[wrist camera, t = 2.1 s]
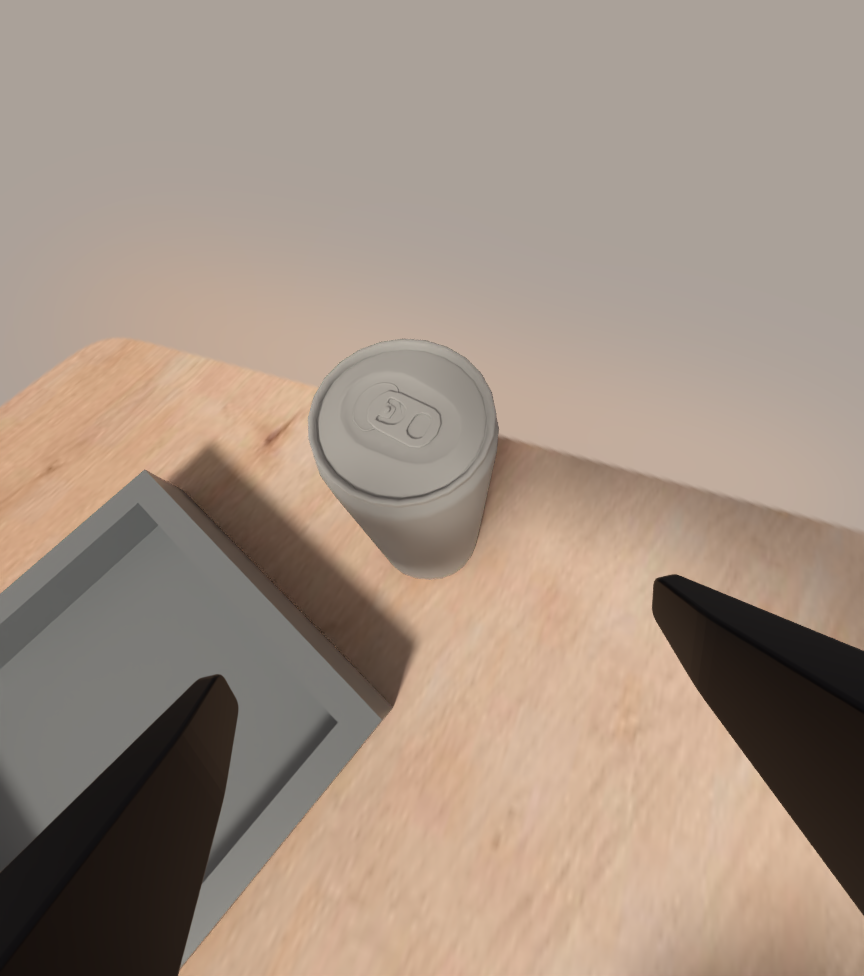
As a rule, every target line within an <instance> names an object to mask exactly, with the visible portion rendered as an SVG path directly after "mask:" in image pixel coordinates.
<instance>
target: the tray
mask: <svg viewBox="0 0 864 976" xmlns="http://www.w3.org/2000/svg"><path fill="white" fill-rule="evenodd" d="M215 674H221V675H222V676H224V678H225V679H226V681H227V683H228V685H229V687H230V688H231V690H232V692H233V694H234V695H235V697H236V699H237V702H238V707H239V710H238V718H237V725H236V731H235V737H234V743H233V749H232V755H231V762H230V768H229V774H228V780H227V785H226V791H225V796H224V800H223V804H222V808H221V812H220V816H219V820H218V824H217V828H216V832H215V835H214V839H213V843H212V847H211V851H210V855H209V858H208V862H207V866H206V870H205V874H204V878H203V881H202V885H201V889H200V893H199V897H198V901H197V905H196V908H195V912H194V916H193V920H192V924H191V928H190V931H189V935H188V939H187V943H186V947H185V951H184V954H183V958H182V962H181V966H180V969H181V968H182V967H183V965H184V964H185V963H186V962H187V960H188V959H189V958H190V957H191V956H192V954H193V953H194V952H195V951H196V949H197V948H198V947H199V946H200V945H201V943H202V942H203V941H204V940H205V938H206V937H207V936H208V935H209V933H210V932H211V931H212V930H213V929H214V927H215V926H216V925H217V924H218V922H219V921H220V920H221V919H222V917H223V916H224V915H225V914H226V913H227V911H228V910H229V909H230V908H231V906H232V905H233V904H234V903H235V901H236V900H237V899H238V898H239V897H240V895H241V894H242V893H243V892H244V890H245V889H246V888H247V887H248V885H249V884H250V883H251V882H252V881H253V879H254V878H255V877H256V876H257V874H258V873H259V872H260V871H261V869H262V868H263V867H264V866H265V865H266V863H267V862H268V861H269V860H270V858H271V857H272V856H273V855H274V853H275V852H276V851H277V850H278V849H279V847H280V846H281V845H282V844H283V842H284V841H285V840H286V839H287V838H288V836H289V835H290V834H291V833H292V831H293V830H294V829H295V828H296V826H297V825H298V824H299V823H300V822H301V820H302V819H303V818H304V817H305V815H306V814H307V813H308V812H309V810H310V809H311V808H312V807H313V806H314V804H315V803H316V802H317V801H318V799H319V798H320V797H321V796H322V794H323V793H324V792H325V791H326V790H327V788H328V787H329V786H330V785H331V783H332V782H333V781H334V780H335V778H336V777H337V776H338V775H339V774H340V772H341V771H342V770H343V769H344V767H345V766H346V765H347V764H348V762H349V761H350V760H351V759H352V758H353V756H354V755H355V754H356V753H357V751H358V750H359V749H360V748H361V746H362V745H363V744H364V743H365V742H366V740H367V739H368V738H369V737H370V735H371V734H372V733H373V732H374V730H375V729H376V728H377V727H378V726H379V724H380V723H381V722H382V721H383V719H384V718H385V717H386V716H387V715H388V713H389V712H390V711H391V710H392V708H393V707H392V706H391V705H390V704H389V703H388V702H387V701H386V700H385V699H384V697H383V696H382V695H381V694H380V693H379V692H378V691H377V690H376V689H375V688H374V687H373V686H372V685H371V684H370V683H369V682H368V681H367V680H366V679H365V678H364V677H363V676H362V675H361V674H360V673H359V672H358V671H357V670H356V669H355V668H354V666H353V665H352V664H351V663H350V662H349V661H348V660H347V659H346V658H345V657H344V656H343V655H342V654H341V653H340V652H339V651H338V650H337V649H336V648H335V647H334V646H333V645H332V644H331V643H330V642H329V641H328V640H327V639H326V638H325V637H324V635H323V634H322V633H321V632H320V631H319V630H318V629H317V628H316V627H315V626H314V625H313V624H312V623H311V622H310V621H309V620H308V619H307V618H306V617H305V616H304V615H303V614H302V613H301V612H300V611H299V610H298V609H297V608H296V607H295V606H294V604H293V603H292V602H291V601H290V600H289V599H288V598H287V597H286V596H285V595H284V594H283V593H282V592H281V591H280V590H279V589H278V588H277V587H276V586H275V585H274V584H273V583H272V582H271V581H270V580H269V579H268V578H267V577H266V576H265V575H264V574H263V572H262V571H261V570H260V569H259V568H258V567H257V566H256V565H255V564H254V563H253V562H252V561H251V560H250V559H249V558H248V557H247V556H246V555H245V554H244V553H243V552H242V551H241V550H240V549H239V548H238V547H237V546H236V545H235V544H234V543H233V541H232V540H231V539H230V538H229V537H228V536H227V535H226V534H225V533H224V532H223V531H222V530H221V529H220V528H219V527H218V526H217V525H216V524H215V523H214V522H213V521H212V520H211V519H210V518H209V517H208V516H207V515H206V514H205V513H204V512H203V510H202V509H201V508H200V507H199V506H198V505H197V504H196V503H195V502H194V501H193V500H192V499H191V498H190V497H189V496H188V495H187V494H186V493H185V492H184V491H183V490H181V489H179V488H178V487H176V486H174V485H172V484H170V483H168V482H167V481H165V480H163V479H161V478H159V477H157V476H156V475H154V474H152V473H150V472H148V471H147V470H144V471H142V472H141V473H140V474H139V475H138V476H137V477H135V478H134V479H133V480H132V481H131V482H130V483H128V484H127V485H126V486H125V487H124V488H123V489H122V490H120V491H119V492H118V493H117V494H116V495H115V496H113V497H112V498H111V499H110V500H109V501H108V502H106V503H105V504H104V505H103V506H102V507H101V508H99V509H98V510H97V511H96V512H95V513H94V514H92V515H91V516H90V517H89V518H88V519H87V520H86V521H84V522H83V523H82V524H81V525H80V526H79V527H77V528H76V529H75V530H74V531H73V532H72V533H70V534H69V535H68V536H67V537H66V538H65V539H63V540H62V541H61V542H60V543H59V544H58V545H57V546H55V547H54V548H53V549H52V550H51V551H50V552H48V553H47V554H46V555H45V556H44V557H43V558H41V559H40V560H39V561H38V562H37V563H36V564H34V565H33V566H32V567H31V568H30V569H29V570H28V571H26V572H25V573H24V574H23V575H22V576H21V577H19V578H18V579H17V580H16V581H15V582H14V583H12V584H11V585H10V586H9V587H8V588H7V589H5V590H4V591H3V592H2V593H1V594H0V872H1V871H2V870H3V869H4V868H5V867H6V866H7V865H8V864H9V863H10V862H11V861H12V860H13V859H14V858H15V857H16V856H17V855H18V854H19V853H20V852H21V851H22V850H23V849H25V848H26V847H27V846H28V845H29V844H30V843H31V842H32V841H33V840H34V839H35V838H36V837H37V836H38V835H39V834H40V833H41V832H42V831H43V830H44V829H45V828H46V827H47V826H48V825H49V824H50V823H51V822H52V821H53V820H54V819H55V818H56V817H57V816H58V815H59V814H60V813H61V812H62V811H63V810H64V809H65V808H66V807H67V806H68V805H70V804H71V803H72V802H73V801H74V800H75V799H76V798H77V797H78V796H79V795H80V794H81V793H82V792H83V791H84V790H85V789H86V788H87V787H88V786H89V785H90V784H91V783H92V782H93V781H94V780H95V779H96V778H97V777H98V776H99V775H100V774H101V773H102V772H103V771H104V770H105V769H106V768H107V767H108V766H109V765H110V764H111V763H112V762H113V761H115V760H116V759H117V758H118V757H119V756H120V755H121V754H122V753H123V752H124V751H125V750H126V749H127V748H128V747H129V746H130V745H131V744H132V743H133V742H134V741H135V740H136V739H137V738H138V737H139V736H140V735H141V734H142V733H143V732H144V731H145V730H146V729H147V728H148V727H149V726H150V725H151V724H152V723H153V722H154V721H155V720H156V719H157V718H158V717H159V716H161V715H162V714H163V713H164V712H165V711H166V710H167V709H168V708H169V707H170V706H171V705H172V704H173V703H174V702H175V701H176V700H177V699H178V698H179V697H180V696H181V695H182V694H183V693H184V692H185V691H186V690H187V689H188V688H189V687H190V686H191V685H192V684H193V683H194V682H195V681H196V680H198V679H199V678H202V677H206V676H210V675H215Z"/></svg>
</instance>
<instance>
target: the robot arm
mask: <svg viewBox="0 0 864 976" xmlns="http://www.w3.org/2000/svg"><path fill="white" fill-rule="evenodd" d="M652 611H653V615H654V618H655V620H656V622H657V624H658V625H659V627H660V629H661V630H662V632H663V634H664V635H665V637H666V639H667V640H668V642H669V644H670V645H671V647H672V649H673V650H674V652H675V654H676V655H677V657H678V659H679V660H680V662H681V664H682V665H683V667H684V669H685V670H686V672H687V674H688V675H689V677H690V679H691V680H692V682H693V683H694V685H695V687H696V688H697V690H698V691H699V693H700V694H701V695H702V697H703V698H704V700H705V701H706V702H707V704H708V705H709V707H710V708H711V709H712V711H713V712H714V713H715V715H716V716H717V717H718V719H719V720H720V721H721V723H722V724H723V725H724V727H725V728H726V730H727V731H728V732H729V734H730V735H731V736H732V738H733V739H734V740H735V742H736V743H737V744H738V746H739V747H740V749H741V750H742V751H743V753H744V754H745V755H746V757H747V758H748V759H749V761H750V762H751V763H752V765H753V766H754V768H755V769H756V770H757V772H758V773H759V774H760V776H761V777H762V778H763V780H764V781H765V782H766V784H767V785H768V787H769V788H770V789H771V791H772V792H773V793H774V795H775V796H776V797H777V799H778V800H779V801H780V803H781V804H782V806H783V807H784V808H785V810H786V811H787V812H788V814H789V815H790V816H791V818H792V819H793V820H794V822H795V823H796V825H797V826H798V827H799V829H800V830H801V831H802V833H803V834H804V835H805V837H806V838H807V839H808V841H809V842H810V844H811V845H812V846H813V848H814V849H815V850H816V852H817V853H818V854H819V856H820V857H821V858H822V860H823V861H824V863H825V864H826V865H827V867H828V868H829V869H830V871H831V872H832V873H833V875H834V876H835V877H836V879H837V880H838V882H839V883H840V884H841V886H842V887H843V888H844V890H845V891H846V892H847V894H848V895H849V896H850V898H851V899H852V901H853V902H854V903H855V905H856V906H857V907H858V909H859V910H860V911H861V913H862V914H863V915H864V651H862V650H860V649H858V648H855V647H853V646H850V645H848V644H845V643H843V642H840V641H838V640H836V639H833V638H831V637H828V636H826V635H823V634H821V633H818V632H816V631H814V630H811V629H809V628H806V627H804V626H801V625H799V624H797V623H794V622H792V621H789V620H787V619H784V618H782V617H779V616H777V615H775V614H772V613H770V612H767V611H765V610H762V609H760V608H758V607H755V606H753V605H750V604H748V603H745V602H743V601H740V600H738V599H736V598H733V597H731V596H728V595H726V594H723V593H721V592H719V591H716V590H714V589H711V588H709V587H706V586H704V585H701V584H699V583H697V582H694V581H692V580H689V579H687V578H684V577H682V576H679V575H675V574H674V575H668V576H663V577H659V578H657V579H656V580H655V581H654V585H653V601H652ZM238 710H239V707H238V702H237V699H236V697H235V695H234V694H233V692H232V690H231V688H230V687H229V685H228V683H227V681H226V679H225V678H224V676H222V675H221V674H215V675H210V676H206V677H202V678H199V679H198V680H196V681H195V682H194V683H193V684H192V685H191V686H190V687H189V688H188V689H187V690H186V691H185V692H184V693H183V694H182V695H181V696H180V697H179V698H178V699H177V700H176V701H175V702H174V703H173V704H172V705H171V706H170V707H169V708H168V709H167V710H166V711H165V712H164V713H163V714H162V715H161V716H159V717H158V718H157V719H156V720H155V721H154V722H153V723H152V724H151V725H150V726H149V727H148V728H147V729H146V730H145V731H144V732H143V733H142V734H141V735H140V736H139V737H138V738H137V739H136V740H135V741H134V742H133V743H132V744H131V745H130V746H129V747H128V748H127V749H126V750H125V751H124V752H123V753H122V754H121V755H120V756H119V757H118V758H117V759H116V760H115V761H113V762H112V763H111V764H110V765H109V766H108V767H107V768H106V769H105V770H104V771H103V772H102V773H101V774H100V775H99V776H98V777H97V778H96V779H95V780H94V781H93V782H92V783H91V784H90V785H89V786H88V787H87V788H86V789H85V790H84V791H83V792H82V793H81V794H80V795H79V796H78V797H77V798H76V799H75V800H74V801H73V802H72V803H71V804H70V805H68V806H67V807H66V808H65V809H64V810H63V811H62V812H61V813H60V814H59V815H58V816H57V817H56V818H55V819H54V820H53V821H52V822H51V823H50V824H49V825H48V826H47V827H46V828H45V829H44V830H43V831H42V832H41V833H40V834H39V835H38V836H37V837H36V838H35V839H34V840H33V841H32V842H31V843H30V844H29V845H28V846H27V847H26V848H25V849H23V850H22V851H21V852H20V853H19V854H18V855H17V856H16V857H15V858H14V859H13V860H12V861H11V862H10V863H9V864H8V865H7V866H6V867H5V868H4V869H3V870H2V871H1V872H0V976H178V974H179V970H180V966H181V962H182V958H183V954H184V951H185V947H186V943H187V939H188V935H189V931H190V928H191V924H192V920H193V916H194V912H195V908H196V905H197V901H198V897H199V893H200V889H201V885H202V881H203V878H204V874H205V870H206V866H207V862H208V858H209V855H210V851H211V847H212V843H213V839H214V835H215V832H216V828H217V824H218V820H219V816H220V812H221V808H222V804H223V800H224V796H225V791H226V785H227V780H228V774H229V768H230V762H231V755H232V749H233V743H234V737H235V731H236V725H237V718H238Z"/></svg>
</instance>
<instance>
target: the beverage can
mask: <svg viewBox="0 0 864 976" xmlns="http://www.w3.org/2000/svg"><path fill="white" fill-rule="evenodd" d="M498 431H499V427H498V422H497V418H496V411H495V406H494V401H493V396H492V392H491V390H490V389H489V387H488V385H487V383H486V381H485V379H484V377H483V376H482V374H481V373H480V372H479V371H478V370H477V369H476V368H475V367H474V366H473V365H472V364H471V363H470V362H469V361H468V360H467V359H466V358H465V357H463V356H462V355H460V354H458V353H457V352H455V351H453V350H452V349H450V348H448V347H446V346H443V345H439V344H436V343H433V342H429V341H426V340H413V339H398V340H391V341H384V342H380V343H377V344H374V345H371V346H368V347H366V348H363V349H361V350H358V351H357V352H355V353H354V354H352V355H351V356H349V357H347V358H346V359H344V360H343V361H341V362H340V363H339V364H338V365H337V366H336V367H335V368H334V369H333V370H332V371H331V372H330V373H329V374H328V375H327V376H326V377H325V378H324V380H323V382H322V384H321V385H320V387H319V389H318V390H317V392H316V394H315V396H314V398H313V401H312V405H311V409H310V413H309V416H308V437H309V442H310V445H311V448H312V451H313V455H314V458H315V461H316V464H317V467H318V470H319V473H320V476H321V477H322V479H323V480H324V481H325V483H326V484H327V486H328V487H329V488H330V490H331V491H332V492H333V494H334V495H335V497H336V498H337V499H338V500H339V501H340V503H341V504H342V505H343V506H344V507H345V509H346V510H347V511H348V512H349V513H350V514H351V516H352V517H353V518H354V519H355V520H356V522H357V523H358V524H359V525H360V526H361V528H362V529H363V530H364V531H365V532H366V534H367V535H368V536H369V537H370V538H371V540H372V541H373V542H374V543H375V544H376V546H377V547H378V548H379V549H380V550H381V552H382V553H383V554H384V555H385V556H386V558H387V559H388V560H389V561H390V562H391V564H392V565H393V566H394V567H395V568H397V569H398V570H399V571H401V572H402V573H403V574H405V575H408V576H411V577H414V578H419V579H439V578H444V577H447V576H450V575H452V574H454V573H456V572H457V571H458V570H460V569H461V568H462V567H463V566H464V565H465V564H466V563H467V561H468V560H469V559H470V557H471V556H472V553H473V551H474V548H475V545H476V542H477V538H478V533H479V529H480V525H481V520H482V516H483V511H484V507H485V502H486V498H487V493H488V489H489V484H490V480H491V475H492V471H493V466H494V462H495V457H496V453H497V442H498Z"/></svg>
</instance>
